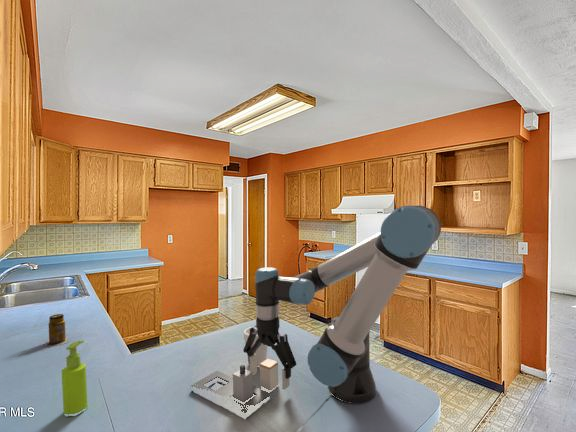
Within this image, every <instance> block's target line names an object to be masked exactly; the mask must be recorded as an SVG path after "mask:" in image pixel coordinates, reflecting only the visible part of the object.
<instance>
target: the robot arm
mask: <svg viewBox="0 0 576 432" xmlns="http://www.w3.org/2000/svg"><path fill="white" fill-rule="evenodd" d="M441 231H442V224H441V220H440V218H439V216H438V214H436V212H434V210H432V209H430V208H429V207H427V206H424V205H403V206H400V207H398V208H395V209H393V210H392V211H391V212H390V213H388V214H387V215H386V217H385V218H384V219H383V221H382V224H381V226H380V231H379V232H378V233H375V234H373V235H371V236H370V237H368V238H366V239H364V240H363V241H361V242H359V243H357V244H355V245H354V246H352V247H350V248H348V249H346V250H344V251H343V252H340V253H339V254H337V255H335V256H332V257H331V258H330V259H328V260H326V261H324V262H322V263H320V264H318V265H316V266H315V267H313V268H311V269H309V270H307V271H305V272H303V273H300V274H298V275H295V276H292V277H291V276H290V277H288V276H281V275H280V274H279V270H278V268H275V267H261V268H257V270H255V278H254V279H255V280H254V288H255V318H256V319H255V325H254V326H251V327H252V328H250V334H249V337H248V339H247V342H246V344H245V343H244V344H245V345H244V347H243V350H242V351H243V353H246V356H247V355H248V357H247V361H248V365H249V364H250V365H249V371H252V372H253V376H254V375H256V374H257V373H258V368H257V354H254V353H255V351H256V350H257V349H258V348H259V346H260V345H261V344H262V343H263V345H267V346H268V347H270V348H271V349H272V350H273V351H274V352H275V354H276V356H277V357H278V359H279V360H280V363H281V365H282V368H281V371H282V372H281V378H282V379H281V384H282V388H281V389H282V390H286V389H287V388H289V387H290V378H291V377H292V369H294V367H295V366H297V361H296V359H295V356H294V353H293V351H292V348H291V346H290V343H289V340H288V334H287V333H283V334H280V332H279V329H280V316H279V315H280V302H285V303H290V304H295V305H303V306H304V305H305V306H307V305H309V304H311V303H312V302H313V300H314V298H315V294H316V293H318V292H319V291H322V290H324V289H326V288H327V287H329V286H331V285H334V284H336V283H338V282H339V281H341V280H344V279H346V278H348V277H349V276H352V275H354V274H356V273H359V271H362V270H364V269H366V270H365V271H364V274H363V275H362V277H361V279H360V281H359V282H358V284H357V285H356V287H355V289H354V291H353V292H352V294H351V296H350V298H349V300H348V301H347V303H346V305H344V308H343V310H342V311H341V313H340V315H339V316H336V317H334V318H332V322H330V323H329V324H328V325H327V326H326V328H325V329H324V331H323V333H322V334H321V336H320V338H319V339H318V341H317V342H316V343H315V344H314V345H312V346H311V348H310V350H309V351H308V353H307V365H308V367H309V371H310V372H311V374H312V376H314V378H315V379H316V380H317V381H318V382H319V383H321V384H323V385H324V386H327V390H328V389H329V390H328V391H329V393H330V392H331V393H332V394H333V395H334V396H335V397H337V398H339V399H341V400H343V401H346V402H351V403H350V404H354V403H357V404H364V403H367V402H369V401H371V400H373V399H374V398H375V396H376V394H377V393H376V392H377V391H376V389H377V387H376V386H377V385H376V381H375V379H374V376H373V372H372V370H371V367H370V365H371V364H370V362H371V361H370V333H371V330H372V328H373V326H374V325H375V324H376V322H377V320H378V318H379V317H380V316H381V314H382V312H383V310H384V309H385V307H386V306H387V304H388V303H389V301H390V299H391V298H392V296H393V295H394V293H395V291H396V289H397V288H398V286H399V285H400V283H401V282H402V280H403V278H404V277H405V275H406V274H407V273H408V272H409V271H414V270H417V269H418V267H419V266H420V264H421V263H422V261H423V260H424V258H425V256H426V255H427V253H428V252H429V250H430V249H431V247H432V246H433V244H435V242H436V241H438V239H439V237H440V234H441ZM257 334H258V336H259V338H258V339H257V340H256V342H255V344H254V345H253V342H254V340H255V337H256V335H257ZM252 345H253V346H252ZM251 347H252V348H251ZM331 393H330V394H331ZM335 397H334V398H335ZM343 401H342V402H343ZM346 402H345V403H346Z"/></svg>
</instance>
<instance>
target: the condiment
mask: <svg viewBox="0 0 576 432" xmlns="http://www.w3.org/2000/svg"><path fill="white" fill-rule="evenodd" d="M68 343H69V342H68V338H67V335H66V320H65V315H64V314H63V313H57V314H51V315H50V316H49V321H48V340H47V341H46V344H47V348H51V347H56V346H60V345H63V344H64V345H65V344H68Z"/></svg>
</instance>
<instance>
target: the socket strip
mask: <svg viewBox="0 0 576 432" xmlns="http://www.w3.org/2000/svg"><path fill="white" fill-rule="evenodd" d="M217 377H218V378H220V379H222V380H224V381H226V382H228V383H227V384H226V385H224V386H223V387H221V388H219V389H218V390H216V391H215V390H213V389H211V388H209V387H206V386H204V384H206V383H208V382H210V381H212V380H213V379H215V378H217ZM195 384H196V385H195ZM197 385H198V386H197ZM191 386H192V387H193V386H194V387H196V388H198V389H200V388H201V389H202V390H203V389H206V390H207V391H208V390H210V391H211V392H212V391H213V392H214V393H215V394H217V393H218V395H221V396H228V397H231V396H233V376H230V375H228V374H226V373H224V372H221V371H219V370H216V371H214V372H212V373H210V374H208V375H207V376H205V377H204V378H202V379H200V380H198V381H196V382H195V383H193V384H191V385H190V387H191ZM253 394H254V395H256V396H254V397H253V398H252V399H250V400H249V401H248V402H246V403H245V404H244V405H245V407H244V405H243V404H241V403H239V402H238V404H240V406H241V405H242V406H243V408H244V409H242V410H241V411H242V412H243V411H244V413H246V412H247V410H248V409H247V408H246V405H249V406H250V405H254V406H255V405H256V404H258V403H260V402H261V401H263V400H264V399H266V398H267V397H269V396H270V397H271V394H270V393H268V392H266V391H263V390H261V389H260V387H256V386H254V385H253ZM228 400H229V398H228ZM230 400H232V399H231V398H230ZM234 401H235V400H234ZM236 403H237V401H236ZM247 407H248V406H247ZM241 408H242V407H241ZM245 408H246V409H247V410H246V409H245Z"/></svg>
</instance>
